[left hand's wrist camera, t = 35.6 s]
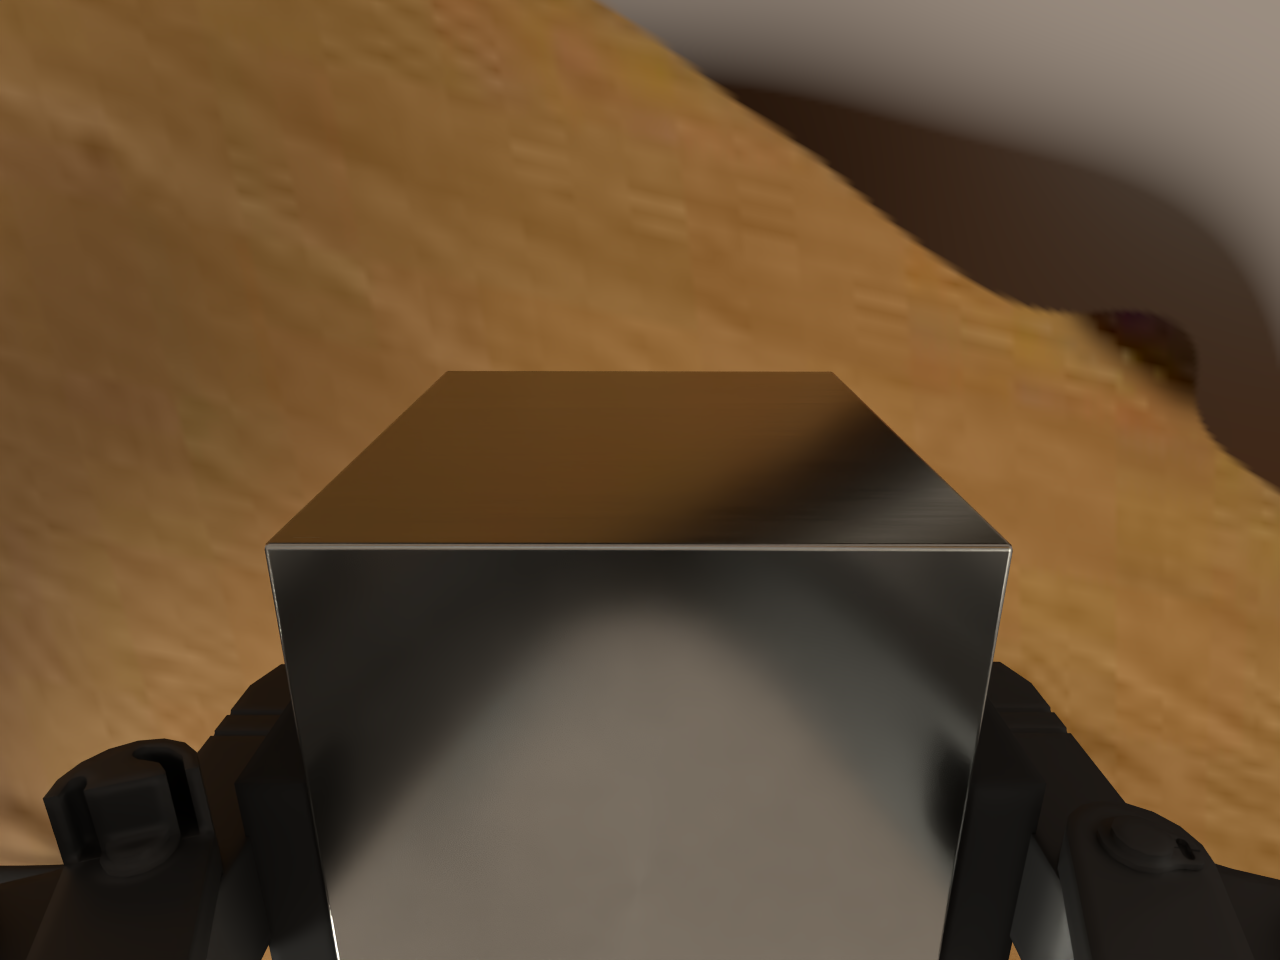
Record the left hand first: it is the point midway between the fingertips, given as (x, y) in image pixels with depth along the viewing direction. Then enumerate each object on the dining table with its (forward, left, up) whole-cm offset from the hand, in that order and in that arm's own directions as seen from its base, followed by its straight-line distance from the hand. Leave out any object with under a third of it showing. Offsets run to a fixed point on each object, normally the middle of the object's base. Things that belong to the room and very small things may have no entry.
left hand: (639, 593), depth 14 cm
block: (0, 0, 0) cm, 0 cm away
